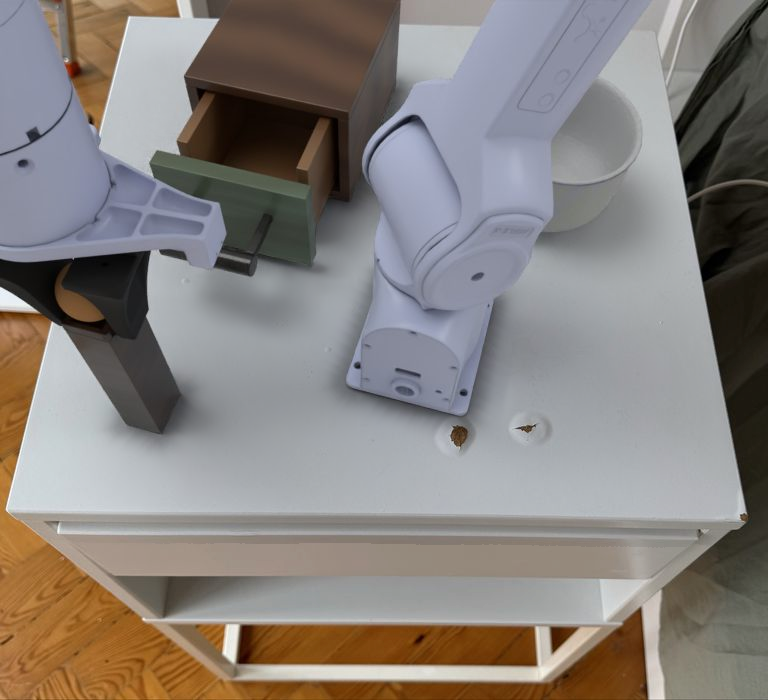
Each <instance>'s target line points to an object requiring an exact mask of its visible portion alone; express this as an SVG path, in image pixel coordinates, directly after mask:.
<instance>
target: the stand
mask: <svg viewBox="0 0 768 700" xmlns="http://www.w3.org/2000/svg"><path fill="white" fill-rule="evenodd" d="M61 325H62V326H61V327H62V328H63V330H64V331H65V332H66V334H67V335H68V337H69V339H70V340H71V342H72V343H73V345H74V347H75V348H76V349H77V352H78V353H79V354H80V356H81V358H82V359H83V361H84V362H85V364H86V365H87V367H88V368H89V369H90V371H91V373H92V374H93V376H94V378H95V379H96V381H97V382H98V384H99V385H100V387H101V388H102V390H103V391H104V393H105V395H106V396H107V397H108V399H109V401H110V402H111V404H112V406H113V407H114V408H115V410H116V412H117V413H118V414H119V417H120V418H121V419H122V421H123V422H124V424H125V425H126V426H130V427H133V428H138V429H141V430H144V431H149V432H152V433H155V434H160V435H162V434H163V432H164V430H165V428H166V425H167V424H168V421H169V419H170V418H171V415H172V413H173V411H174V409H175V406H176V404H177V403H178V401H179V398H180V396H181V394H182V393H181V391H180V388H179V386H178V384H177V381H176V379H175V377H174V374H173V372H172V371H171V368H170V366H169V363H168V361H167V359H166V358H165V355H164V353H163V350H162V348H161V346H160V344H159V341H158V339H157V337H156V335H155V333H154V331H153V328H152V326H151V324H150V321H149V319H148V317H147V316H146V318H145V320H144V322H143V324H142V327H141V329H140V331H139V334H138V336H137V338H136V339H134V340H130V339H125V338H121V337H120V336H118V335H117V334H116V333H115V332H114V331H113V330H112V328H111V327H110V325H109V324H108V322H107V321H106V319H102V320H99V321H94V322H85V321H80V320H77V319H75V318H73V317H71V316H69V315H68V314H67V315H66V317H65V319H63V320H62V322H61Z"/></svg>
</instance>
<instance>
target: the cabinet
mask: <svg viewBox="0 0 768 700" xmlns="http://www.w3.org/2000/svg"><path fill="white" fill-rule="evenodd" d="M401 2H402V0H230V1H229V3H228V4H227V6H226V8H225V10H224V11H223V13H222V14H221V16H220V17H219V19H218V21H217V22H216V23H215V26H213V28H212V30H211V32H209V34H208V37H207V38H206V40H205V41H204V43H203V45H202V46H201V47H200V49H199V51H198V52H197V54H196V56H194V59H193V60H192V62H191V64H190V65H189V66H188V68H187V69H186V71H185V73H184V75H183V79H184V83H185V88H186V93H187V96H188V101H189V105H190V108H191V113H193V112H194V110H195V108H196V107H197V105H198V103H199V102H200V100H201V98H202V97H203V95H204V93H205V92H206V90H211V91H215V92H220V93H224V94H229V95H233V96H238V97H242V98H247V99H251V100H256V101H260V102H265V103H270V104H274V105H279V106H283V107H288V108H292V109H297V110H301V111H306V112H310V113H315V114H319V115H324V116H328V117H333V118H338V144H339V173H338V175H337V178H336V180H335V182H334V185H333V187H332V189H331V192H330V194H329V197H328V198H332V199H335V200H341V201H345V202H351V200H352V197H353V194H354V192H355V189H356V187H357V184H358V182H359V181H360V180H359V179H360V177H361V174H362V173H363V169H362V157H363V154H364V150H365V148H366V146H367V144H368V142H369V140H370V139H371V137H372V136H373V135H374V133H375V132H376V131H377V130H378V129H379V128H380V127H381V126H382V122H383V119H384V117H385V114H386V112H387V110H388V107H389V104H390V102H391V100H392V97H393V95H394V92H395V89H396V88H397V76H398V75H397V74H398V59H399V58H398V57H399V42H400V41H399V39H400V25H401V24H400V23H401V22H400V21H401V7H402V3H401Z"/></svg>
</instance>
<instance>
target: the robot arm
mask: <svg viewBox="0 0 768 700" xmlns="http://www.w3.org/2000/svg"><path fill="white" fill-rule="evenodd" d="M652 2H653V0H494V2H493V4H492V5H491V7H490V9H489V11H488V13H487V15H486V17H485V18H484V20H483V22H482V24H481V25H480V27H479V29H478V31H477V33H476V34H475V37H474V38H473V40H472V42H471V43H470V46H468V49H467V51H466V53H465V54H464V56H463V58H462V60H461V61H460V64H459V65H458V68H457V69H456V70H455V72H454V74H453V76H452V78H433V79H426V80H421V81H417V82H415V83H414V84H413V86H412V87H411V90H410V92H409V94H408V96H407V98H406V99H405V101H404V103H403V104H402V105H401V107H400V108H399V109H398V111H397V112H395V113H394V115H393V116H392V117H390V118H389V119H388V120H387V121H385V123H383V124H381V125H380V127H379V129H378V130H377V131H376V132H375V133H374V135H373V136H372V137H371V139H370V140H369V142H368V144H367V146H366V148H365V150H364V154H363V157H362V169H363V170H362V174H363V176H364V179H365V181H366V183H367V184H368V185H369V187H370V188H371V189H372V190H373V192H374V194H375V196H376V199H377V200H378V203H379V205H380V217H379V221H378V224H377V227H376V231H375V235H374V240H373V241H374V245H373V250H374V251H373V274H372V275H373V276H372V277H373V279H372V301H371V303H370V306H369V309H368V313H367V316H366V318H365V321H364V324H363V328H362V330H361V333H360V335H359V339H358V341H357V345H356V347H355V349H354V353H353V356H352V359H351V361H350V364H349V368H348V371H347V373H346V377H345V383H346V385H347V386H348V387H349V388H352V389H355V390H359V391H362V392H366V393H369V394H370V393H371V394H373V395H378V396H382V397H385V398H389V399H393V400H396V401H400V402H405V403H408V404H412V405H415V406H420V407H423V408H427V409H431V410H435V411H438V412H442V413H446V414H451V415H455V416H459V417H462V416H465V415H466V414H467V412H468V411H469V410H468V409H469V406H470V403H471V398H472V394H473V389H474V385H475V382H476V377H477V372H478V370H479V369H478V368H479V365H480V361H481V356H482V353H483V352H482V351H483V348H484V344H485V339H486V335H487V332H488V328H489V324H490V320H491V319H490V318H491V315H492V312H493V311H492V310H493V306H494V301H495V299H496V298H497V297H499V296H501V295H502V294H504V293H506V292H507V291H508V290H509V289H511V287H512V286H513V285H514V284H515V283H517V282H518V280H519V279H520V278H521V276H522V275H523V273H524V272H525V270H526V269H527V268H528V265H529V264H530V262H531V260H532V257H533V252H534V248H535V244H536V242H537V240H538V237H539V236H540V234H541V233H542V232H541V231H542V230H543V228H544V227H545V226H546V225H547V223H548V222H549V221H550V220H551V218H552V217H553V206H554V202H553V184H552V166H551V141H552V139H553V137H554V136H555V135H556V133H557V132H558V130H559V129H560V128H561V126H562V125H563V124H564V122H565V121H566V119H567V118H568V117H569V115H570V114H571V112H572V111H573V110H574V108H575V107H576V106H577V104H578V103H579V101H580V100H581V99H582V97H583V96H584V94H585V93H586V92H587V90H588V89H589V88H590V86H591V85H592V83H593V82H594V81H595V79H596V78H597V76H599V75H600V74H601V73H602V71H603V70H604V68H605V67H606V66H607V65H608V63H609V61H610V60H611V59H612V57H613V56H614V55H615V53H616V52H617V50H618V49H619V47H621V45H622V43H623V42H624V41H625V39H626V38H627V37H628V35H629V34H630V32H631V31H632V29H633V28H635V25H636V24H637V23H638V21H639V20H640V18H641V17H642V16H643V14H644V13H645V12H646V11H647V8H648V7H649V6H650V5H651V3H652ZM101 141H102V138H101V136H100V133H99V131H98V129H97V127H96V126H95V125H93V124H91V123H90V122H89V120H88V118H87V115H86V112H85V110H84V108H83V105H82V103H81V100H80V97H79V96H78V93H77V91H76V89H75V85H74V82H73V80H72V79H71V76H70V74H69V72H68V69H67V67H66V65H65V62H64V59H63V57H62V55H61V52H60V50H59V47H58V45H57V42H56V40H55V37H54V36H53V33H52V30H51V28H50V25H49V23H48V20H47V18H46V16H45V13H44V11H43V9H42V6H41V4H40V1H39V0H0V288H1V289H3V290H5V291H7V292H9V293H10V294H12V295H13V296H15V297H17V298H18V299H20V300H21V301H22V302H24V303H26V304H27V305H28V306H30V307H31V308H32V309H34V310H35V311H37V312H38V313H39V314H41V315H42V316H43V317H45V318H46V319H47V320H49V321H51V322H52V323H53V324H55V325H57V326H59V327H62V325H61V322H62V320H63V319H65V317H66V315H67V313H65V312H64V311H63V310H62V308H61V307H60V306H59V304H58V302H57V300H56V296H55V282H56V279H57V277H58V275H59V273H60V272H61V270H62V269H63V268H64V267H65V266H67V265H68V264H70V263H71V262H72V263H71V265H70V267H69V269H68V270H67V272H66V274H65V276H64V278H63V280H62V282H61V285H62V287H63V288H64V289H65V290H69V291H71V292H74V293H77V294H79V295H80V296H82V297H84V298H86V299H87V300H88V301H89V302H91V303H92V304H93V305H94V306H95V307H96V308H97V309H98V310H99V311H100V312H101V313H102V315H103V316H104V318H105V319H106V321H107V322H108V324H109V325H110V327H111V328H112V330H113V331H114V332H115V333H116V334H117V335H118V336H120V337H121V338H125V339H130V340H134V339H136V338H137V336H138V334H139V331H140V329H141V327H142V324H143V322H144V320H145V318H146V317H147V315H148V313H149V311H150V306H149V296H148V295H149V294H148V274H149V265H150V264H149V263H150V258H151V253H152V251H159V250H160V249H172V250H178V251H183V252H184V253H185V254H186V257H187V260H188V261H187V263H188V265H189V266H191V267H194V268H199V269H204V270H210V271H211V270H213V269H214V268H213V267H214V264H215V262H216V259H217V257H218V255H219V252H220V250H221V247H223V245H222V244H223V242H224V239H225V237H226V229H225V225H224V221H223V216H222V212H221V208H220V204H219V203H217V202H212V201H208V200H204V199H200V198H196V197H193V196H190V195H188V194H186V193H183V192H181V191H179V190H177V189H175V188H173V187H171V186H169V185H167V184H165V183H163V182H161V181H159V180H157V179H155V178H154V176H153V175H152V176H151V175H150V174H148V173H145V172H144V171H142V170H140V169H138V168H137V167H134V166H132V165H130V164H129V163H127V162H125V161H123V160H120V159H119V158H117V157H115V156H113V155H112V154H109V153H107V152H105V151H104V150H101V148H99V147H100V145H101ZM356 366H360V368H357V367H356ZM461 393H465V395H461Z"/></svg>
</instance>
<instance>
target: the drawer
mask: <svg viewBox="0 0 768 700" xmlns="http://www.w3.org/2000/svg"><path fill="white" fill-rule="evenodd" d="M191 113H192V112H191ZM175 141H176V144H177V145H176V146H177V148H178V152H179V154H176V153H171V152H167V151H164V150H159V149H156V150H155V152H154V153H153V155H152V157H151V158H150V160H149V162H148V165H149V167H150V171H151V174H152V177H153V178H155V179H157V180H159V181H161V182H163V183H165V184H167V185H169V186H171V187H173V188H175V189H177V190H179V191H181V192H183V193H186V194H188V195H190V196H193V197H196V198H200V199H204V200H208V201H212V202H217V203H219V204H220V208H221V212H222V216H223V221H224V225H225V229H226V237H225V239H224V242H223V244H222V247H221V250H220V252H219V255H218V257H217V259H216V262H215V264H214V267H213V269H215V270H217V269H218V270H220V271H224V272H229V273H233V274H237V275H240V276H241V275H242V276H245V277H249V278H252V277H253V276H254V275H255V273H256V271H257V267H258V254H260V255H264V256H268V257H272V258H276V259H280V260H284V261H288V262H292V263H296V264H299V265H300V264H301V265H305V266H309V267H312V265H313V263H314V261H315V258H316V256H317V240H316V227H317V225H318V222H319V220H320V218H321V215H322V213H323V211H324V209H325V206H326V203H327V201H328V199H329V198H330V197H329V194H330V192H331V189H332V187H333V185H334V182H335V180H336V178H337V175H338V173H339V144H338V118H333V117H328V116H324V115H319V114H315V113H310V112H306V111H301V110H297V109H292V108H288V107H283V106H279V105H274V104H270V103H265V102H260V101H256V100H251V99H247V98H242V97H238V96H233V95H229V94H224V93H220V92H215V91H211V90H206V92H205V93H204V95H203V97H202V98H201V100H200V102H199V103H198V105H197V107H196V108H195V110H194V112H193V113H192V114H190V117H189V118H188V119H187V122H186V123H185V125H184V126H183V128H182V130H181V132H180V133H179V135H178V137H177V138H176V140H175ZM225 246H226V247H225ZM229 247H232V248H229ZM233 248H234V249H233ZM235 248H236V249H239V250H236V249H235ZM241 250H243V251H241ZM158 252H159V254H160V255H161V256H165V257H168V258H172V259H175V260H181V261H184V262H188V260H187V257H186V254H185V253H184V252H183V251H178V250H172V249H160V250H158Z"/></svg>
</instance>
